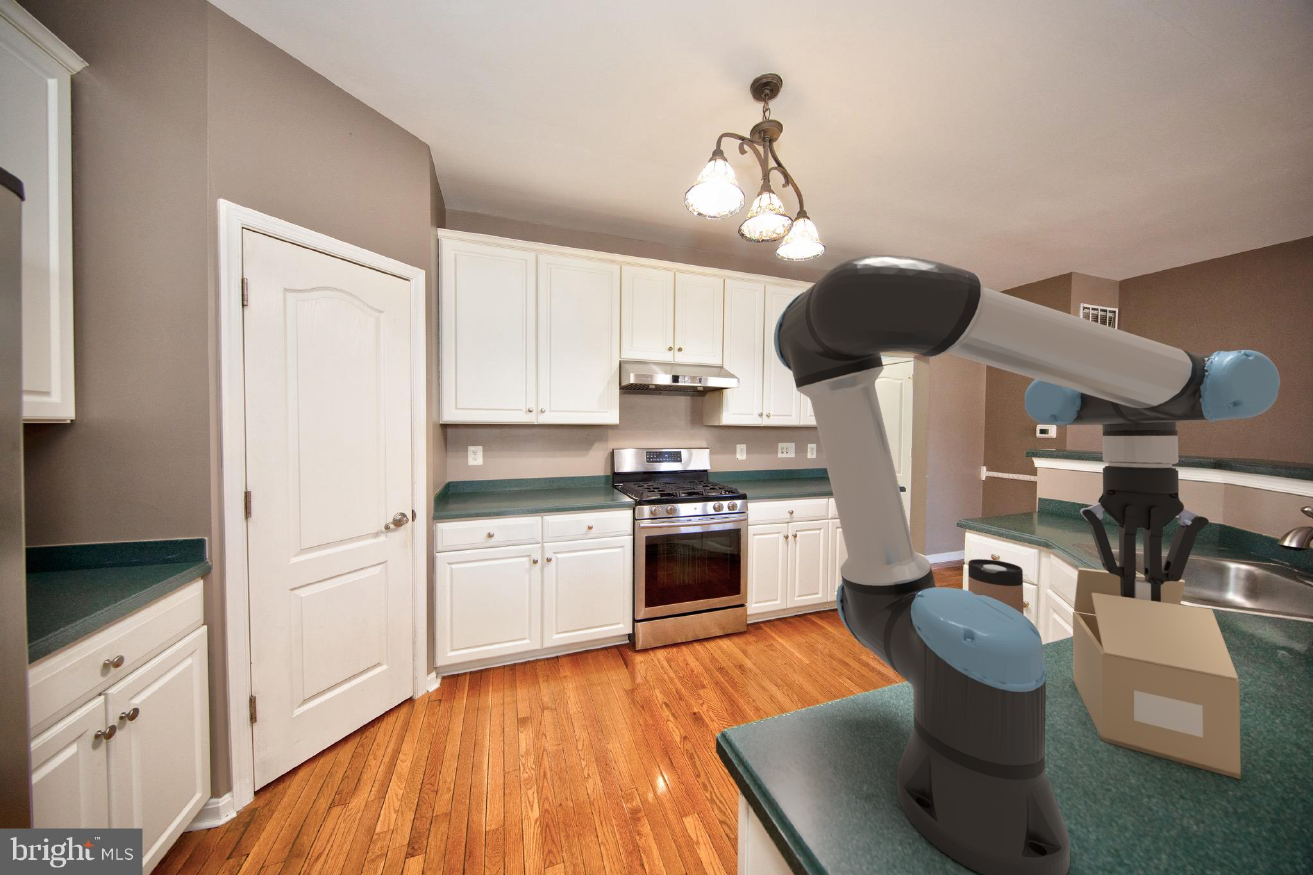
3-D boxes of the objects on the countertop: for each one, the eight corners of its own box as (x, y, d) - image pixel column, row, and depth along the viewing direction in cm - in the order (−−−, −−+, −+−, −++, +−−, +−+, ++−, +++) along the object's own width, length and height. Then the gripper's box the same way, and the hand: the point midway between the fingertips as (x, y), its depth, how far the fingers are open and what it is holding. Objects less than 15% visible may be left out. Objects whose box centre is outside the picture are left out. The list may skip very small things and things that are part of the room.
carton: (1241, 779, 53) (1239, 681, 53) (1103, 741, 60) (1102, 654, 60) (1178, 705, 68) (1177, 628, 68) (1073, 681, 75) (1072, 611, 75)
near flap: (1236, 679, 53) (1238, 678, 53) (1103, 653, 60) (1104, 652, 60) (1210, 611, 59) (1212, 609, 58) (1091, 594, 65) (1091, 592, 65)
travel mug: (1004, 669, 79) (1003, 559, 79) (1036, 694, 71) (1035, 572, 71) (959, 667, 79) (958, 558, 80) (986, 691, 72) (985, 570, 72)
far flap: (1074, 611, 75) (1073, 609, 75) (1175, 627, 68) (1174, 625, 69) (1079, 569, 72) (1078, 567, 72) (1185, 582, 65) (1183, 579, 65)
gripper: (1194, 465, 64) (1195, 626, 64) (1073, 462, 71) (1074, 606, 71) (1220, 468, 58) (1222, 646, 57) (1084, 465, 65) (1086, 622, 65)
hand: (1140, 624), depth 64 cm, fingers closed
